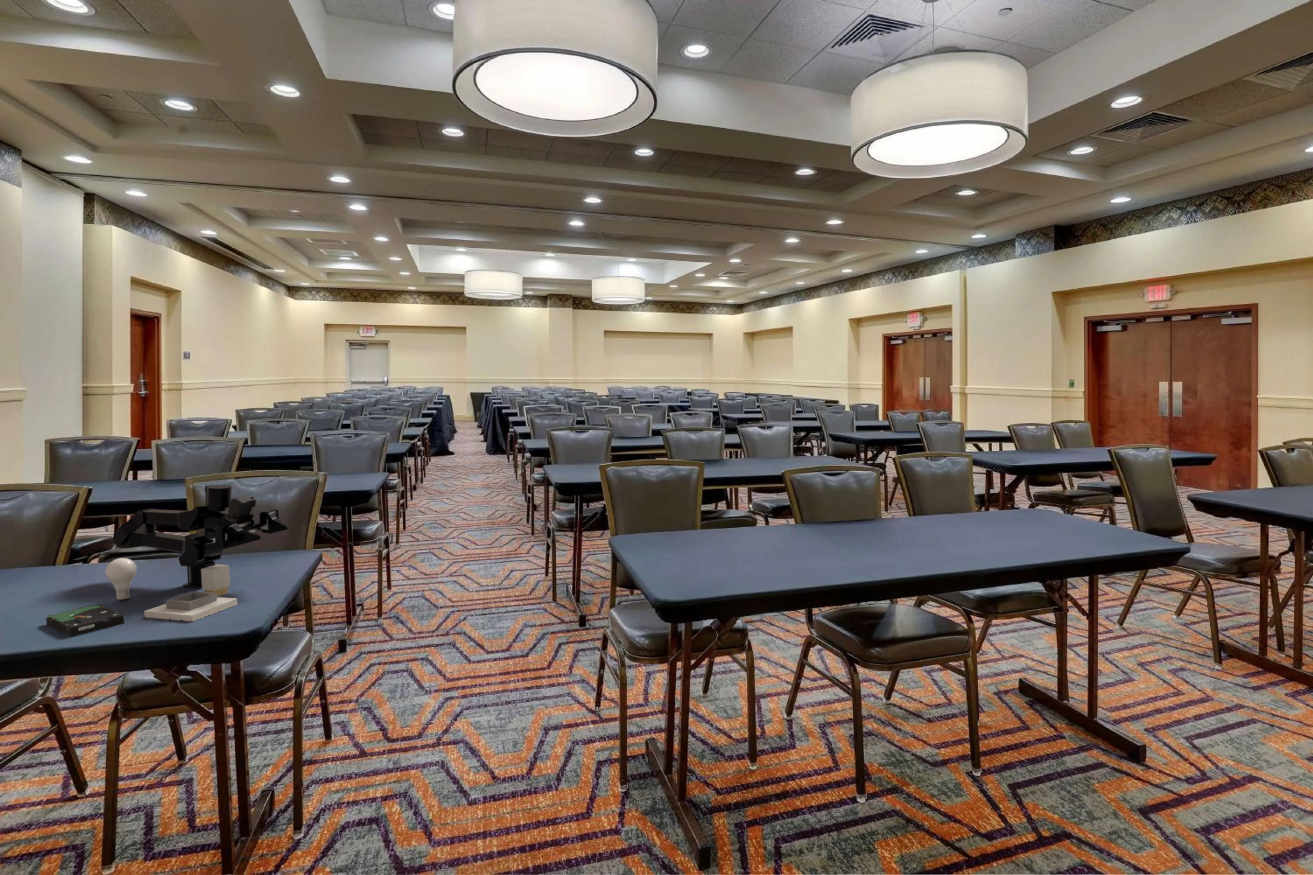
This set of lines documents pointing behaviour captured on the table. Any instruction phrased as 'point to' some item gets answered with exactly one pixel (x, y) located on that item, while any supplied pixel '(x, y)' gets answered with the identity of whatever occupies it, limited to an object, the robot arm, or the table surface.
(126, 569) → the lightbulb
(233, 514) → the robot arm
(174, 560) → the table surface
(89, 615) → the disk drive
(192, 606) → the socket plate
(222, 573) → the plug
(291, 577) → the table surface
